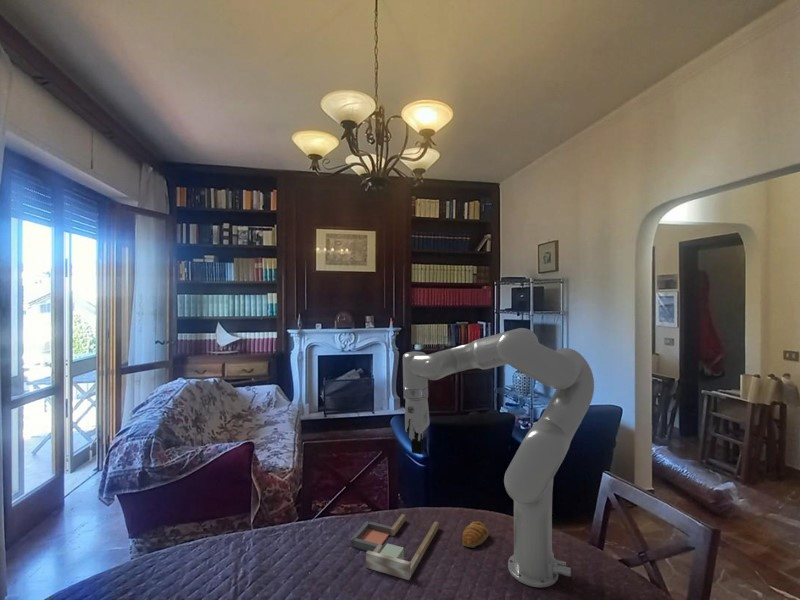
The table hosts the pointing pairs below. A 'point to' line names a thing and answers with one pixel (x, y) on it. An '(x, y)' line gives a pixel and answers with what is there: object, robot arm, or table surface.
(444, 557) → the table surface
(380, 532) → the tray
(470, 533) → the pastry
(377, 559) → the wooden channel walls
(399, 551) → the block
